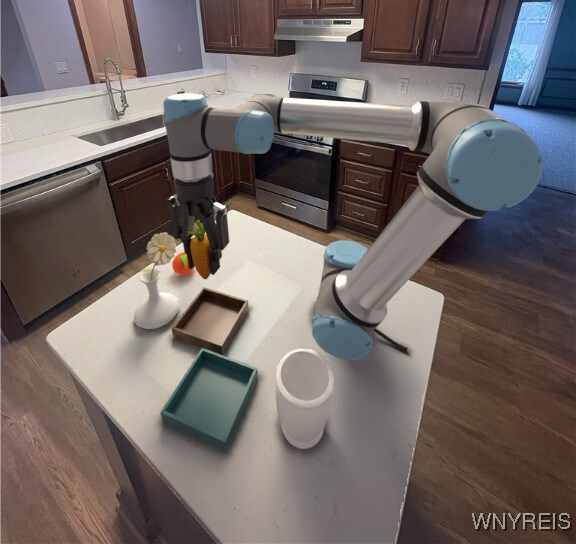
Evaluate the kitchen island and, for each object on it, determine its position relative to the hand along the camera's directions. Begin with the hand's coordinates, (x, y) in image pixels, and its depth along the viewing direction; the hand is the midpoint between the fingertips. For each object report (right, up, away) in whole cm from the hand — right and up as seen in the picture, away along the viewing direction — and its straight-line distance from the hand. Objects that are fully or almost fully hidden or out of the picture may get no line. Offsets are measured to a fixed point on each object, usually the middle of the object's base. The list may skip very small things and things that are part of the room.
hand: (204, 267), depth 70 cm
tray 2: (+3, -26, -4) cm, 27 cm away
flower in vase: (-16, -18, +15) cm, 29 cm away
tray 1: (-1, -19, +13) cm, 23 cm away
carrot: (0, -3, +1) cm, 4 cm away
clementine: (-14, -12, +29) cm, 35 cm away
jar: (+22, -28, -8) cm, 37 cm away
